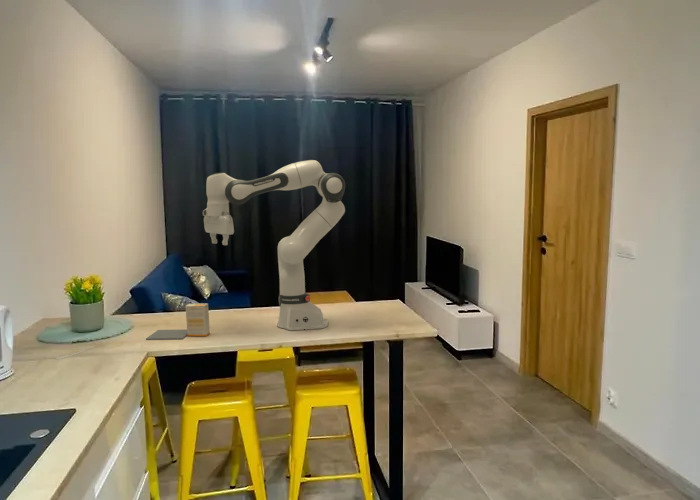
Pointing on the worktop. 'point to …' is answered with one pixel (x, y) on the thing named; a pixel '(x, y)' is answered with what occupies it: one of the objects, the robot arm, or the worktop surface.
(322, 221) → the robot arm
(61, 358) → the butter knife
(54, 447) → the worktop surface
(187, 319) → the supplement box
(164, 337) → the rubber mat
